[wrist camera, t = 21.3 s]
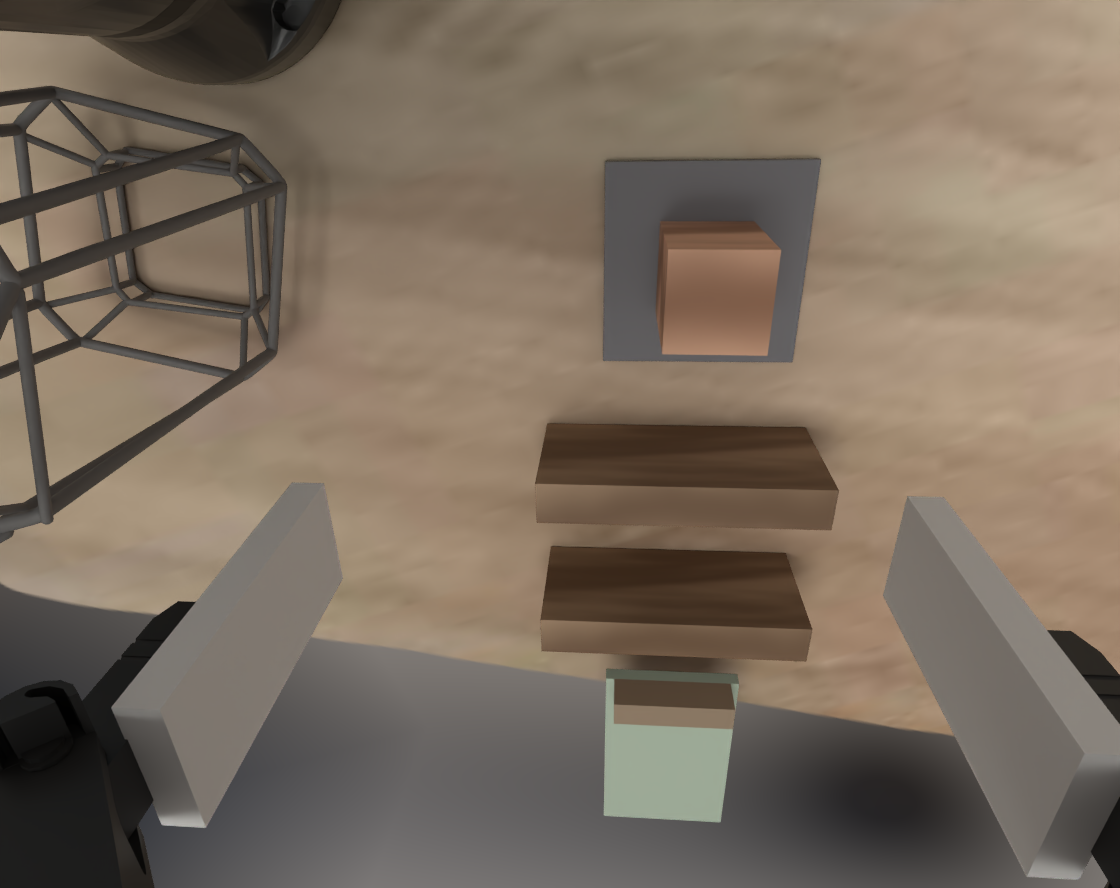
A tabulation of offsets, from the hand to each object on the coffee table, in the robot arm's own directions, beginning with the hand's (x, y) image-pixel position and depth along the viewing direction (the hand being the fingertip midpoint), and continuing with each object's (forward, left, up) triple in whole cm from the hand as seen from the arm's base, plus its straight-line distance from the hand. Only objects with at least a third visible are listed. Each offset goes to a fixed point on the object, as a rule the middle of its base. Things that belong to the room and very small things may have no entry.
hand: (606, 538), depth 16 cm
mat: (0, +5, -27) cm, 27 cm away
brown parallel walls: (+16, +4, -27) cm, 31 cm away
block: (0, +5, -26) cm, 27 cm away
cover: (+30, +4, -19) cm, 36 cm away
